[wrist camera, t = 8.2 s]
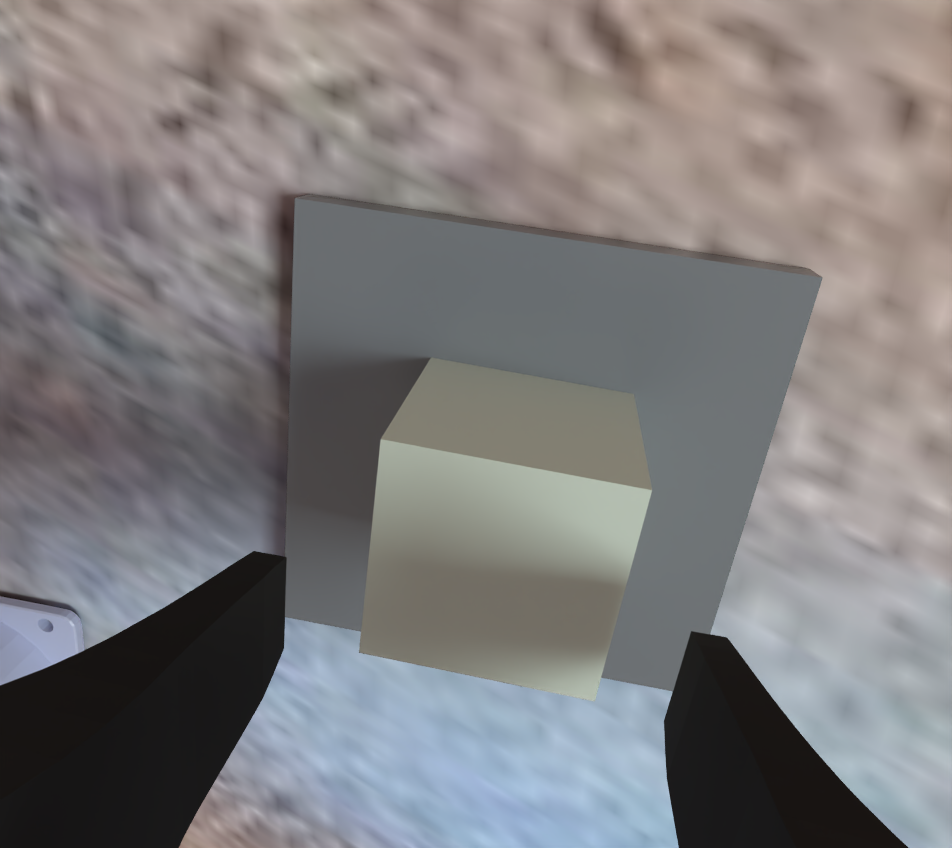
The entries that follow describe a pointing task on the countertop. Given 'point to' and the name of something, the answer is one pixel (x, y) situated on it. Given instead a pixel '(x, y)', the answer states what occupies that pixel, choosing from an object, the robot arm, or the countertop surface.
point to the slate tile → (542, 355)
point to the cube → (505, 527)
